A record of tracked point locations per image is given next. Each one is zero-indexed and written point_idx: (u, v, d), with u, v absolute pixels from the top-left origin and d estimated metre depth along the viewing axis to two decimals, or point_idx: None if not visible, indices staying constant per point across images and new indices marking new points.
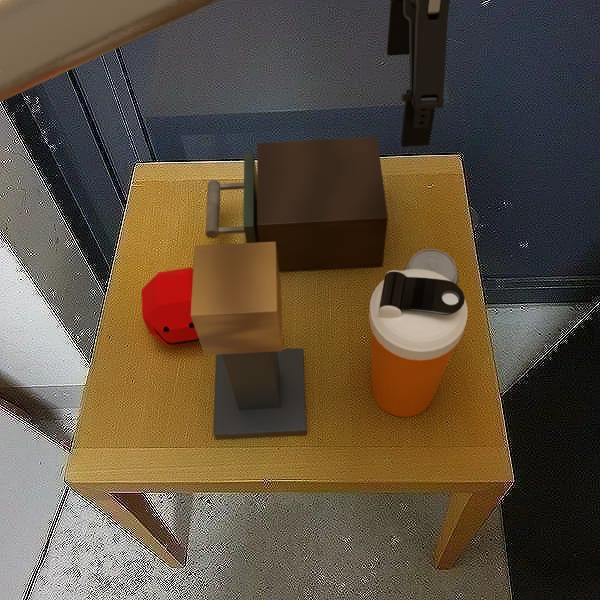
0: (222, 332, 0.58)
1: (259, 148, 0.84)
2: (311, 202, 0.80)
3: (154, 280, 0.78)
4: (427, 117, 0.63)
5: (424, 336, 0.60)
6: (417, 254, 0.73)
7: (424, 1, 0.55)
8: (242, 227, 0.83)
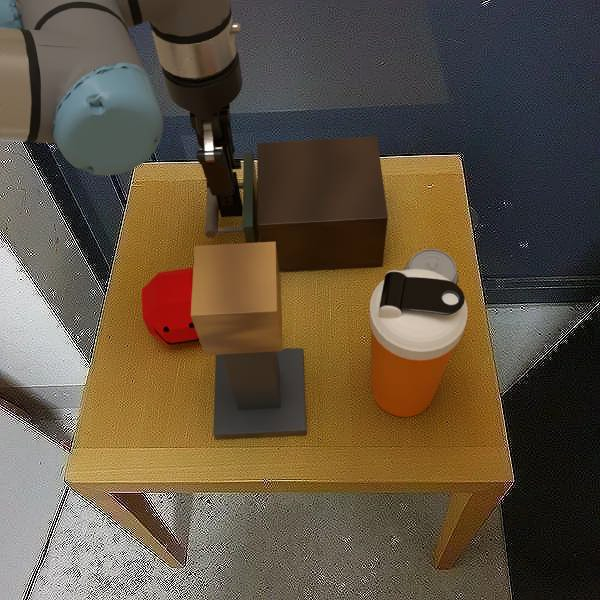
0: (222, 332, 0.58)
1: (259, 148, 0.84)
2: (311, 202, 0.80)
3: (154, 280, 0.78)
4: (230, 198, 0.81)
5: (424, 336, 0.60)
6: (417, 254, 0.73)
7: (202, 162, 0.70)
8: (241, 227, 0.83)
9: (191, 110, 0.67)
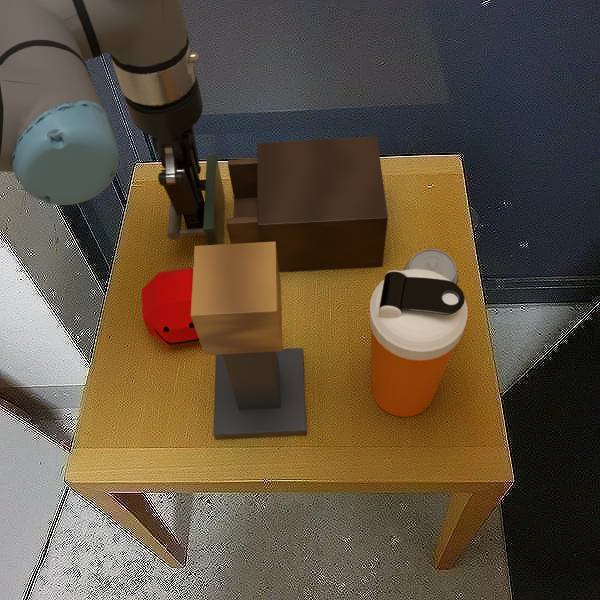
0: (222, 332, 0.58)
1: (259, 148, 0.84)
2: (311, 202, 0.80)
3: (154, 280, 0.78)
4: (195, 217, 0.84)
5: (424, 336, 0.60)
6: (417, 254, 0.73)
7: (164, 184, 0.72)
8: (204, 229, 0.83)
9: (152, 135, 0.70)
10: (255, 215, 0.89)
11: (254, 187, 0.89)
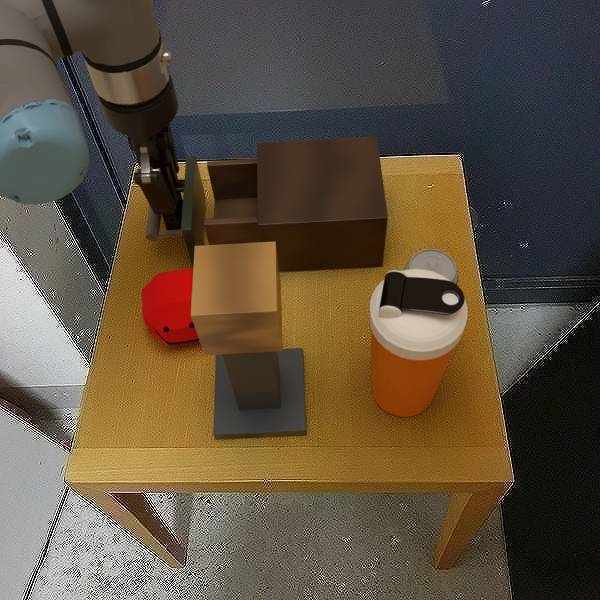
0: (222, 332, 0.58)
1: (259, 148, 0.84)
2: (311, 202, 0.80)
3: (154, 280, 0.78)
4: (174, 216, 0.83)
5: (424, 336, 0.60)
6: (417, 254, 0.73)
7: (139, 183, 0.72)
8: None
9: (127, 134, 0.70)
10: (235, 216, 0.89)
11: (234, 188, 0.89)
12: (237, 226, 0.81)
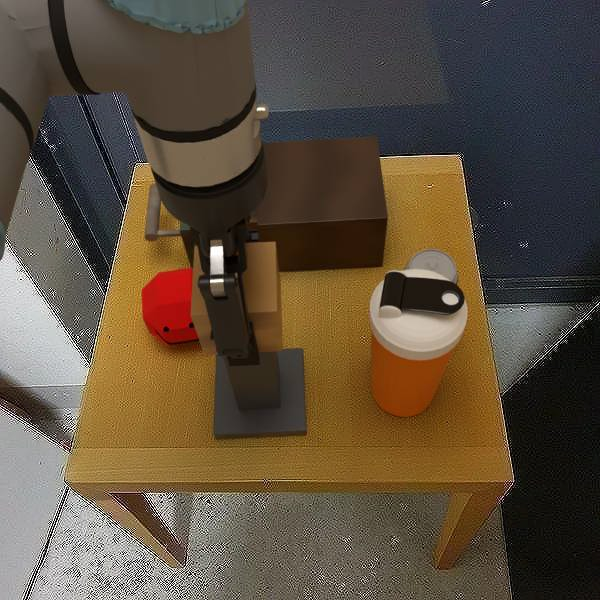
0: None
1: None
2: (311, 202, 0.80)
3: (154, 280, 0.78)
4: None
5: (424, 336, 0.60)
6: (417, 254, 0.73)
7: (206, 292, 0.47)
8: None
9: (193, 226, 0.46)
10: None
11: None
12: None
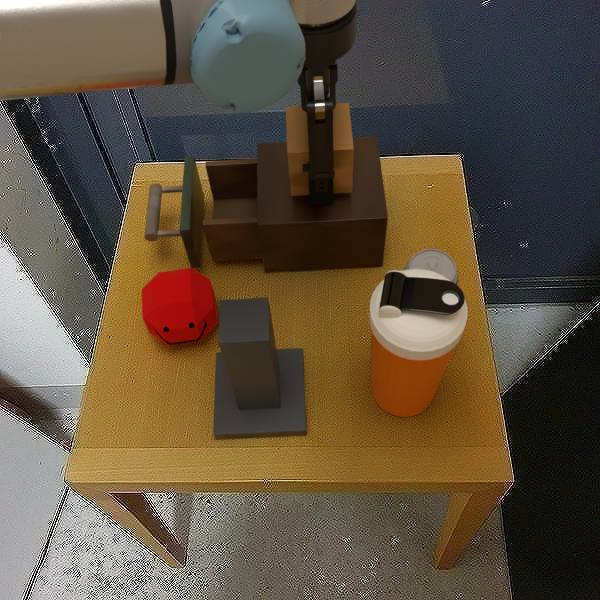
0: None
1: (259, 148, 0.84)
2: None
3: (154, 280, 0.78)
4: (326, 184, 0.74)
5: (424, 336, 0.60)
6: (417, 254, 0.73)
7: (311, 114, 0.64)
8: None
9: (304, 62, 0.63)
10: (234, 216, 0.89)
11: (232, 188, 0.89)
12: (236, 227, 0.81)
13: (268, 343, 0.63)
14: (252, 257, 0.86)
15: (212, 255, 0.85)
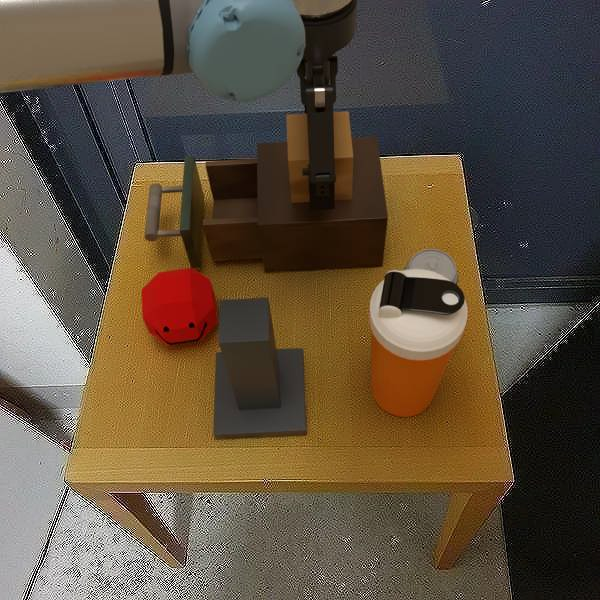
0: None
1: (259, 148, 0.84)
2: None
3: (154, 280, 0.78)
4: (326, 188, 0.71)
5: (424, 336, 0.60)
6: (417, 254, 0.73)
7: (310, 98, 0.62)
8: None
9: (303, 54, 0.62)
10: (234, 216, 0.89)
11: (232, 188, 0.89)
12: (236, 227, 0.81)
13: (268, 343, 0.63)
14: (252, 257, 0.86)
15: (212, 255, 0.85)
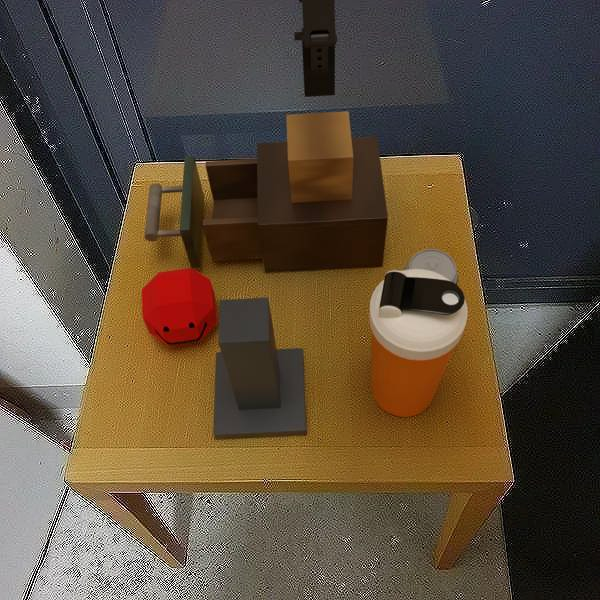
0: (309, 178, 0.76)
1: (259, 148, 0.84)
2: (311, 202, 0.80)
3: (154, 280, 0.78)
4: (325, 60, 0.57)
5: (424, 336, 0.60)
6: (417, 254, 0.73)
7: None
8: None
9: None
10: (234, 216, 0.89)
11: (232, 188, 0.89)
12: (236, 227, 0.81)
13: (268, 343, 0.63)
14: (252, 257, 0.86)
15: (212, 255, 0.85)
